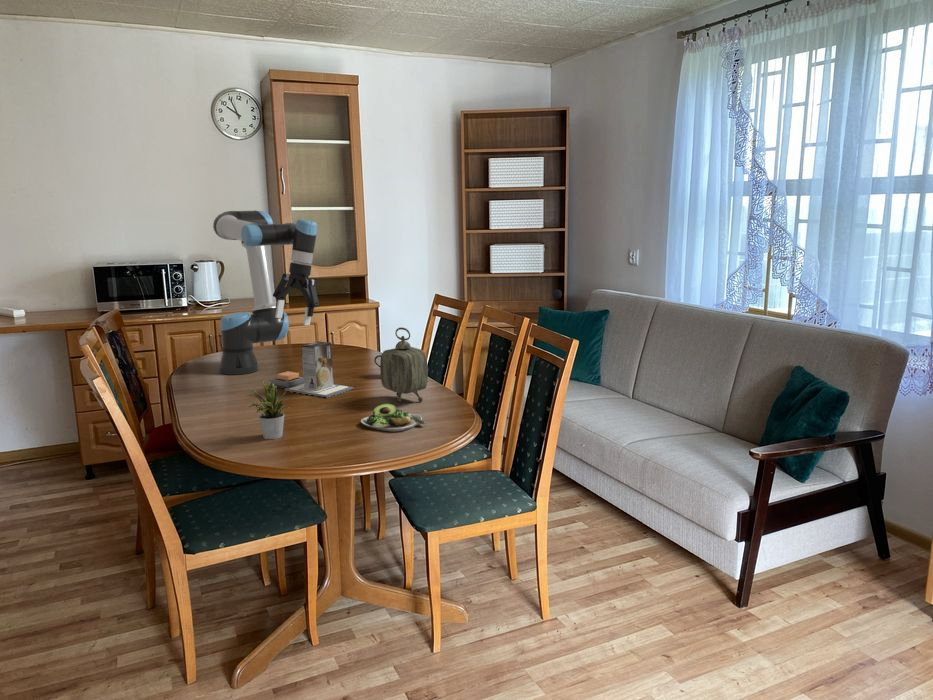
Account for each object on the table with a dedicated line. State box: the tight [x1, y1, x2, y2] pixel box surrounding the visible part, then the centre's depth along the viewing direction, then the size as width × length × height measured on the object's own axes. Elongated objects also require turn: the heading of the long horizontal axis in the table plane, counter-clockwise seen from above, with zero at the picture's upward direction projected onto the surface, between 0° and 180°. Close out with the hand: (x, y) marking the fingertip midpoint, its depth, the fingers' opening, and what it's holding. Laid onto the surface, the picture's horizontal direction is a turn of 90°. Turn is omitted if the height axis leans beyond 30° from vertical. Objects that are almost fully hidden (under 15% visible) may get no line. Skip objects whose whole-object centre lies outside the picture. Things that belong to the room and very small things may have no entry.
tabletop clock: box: [379, 327, 429, 403], centre depth 229 cm, size 14×9×25 cm, turn 48°
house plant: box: [246, 380, 291, 440], centre depth 194 cm, size 14×14×16 cm
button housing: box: [269, 376, 304, 389], centre depth 253 cm, size 9×9×2 cm
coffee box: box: [301, 340, 335, 391], centre depth 245 cm, size 9×6×16 cm
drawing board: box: [284, 383, 354, 399], centre depth 246 cm, size 20×14×1 cm
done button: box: [276, 371, 300, 380], centre depth 253 cm, size 6×6×2 cm
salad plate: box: [359, 403, 427, 433], centre depth 206 cm, size 19×18×5 cm
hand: (292, 321), depth 249 cm, fingers open, 13 cm apart
